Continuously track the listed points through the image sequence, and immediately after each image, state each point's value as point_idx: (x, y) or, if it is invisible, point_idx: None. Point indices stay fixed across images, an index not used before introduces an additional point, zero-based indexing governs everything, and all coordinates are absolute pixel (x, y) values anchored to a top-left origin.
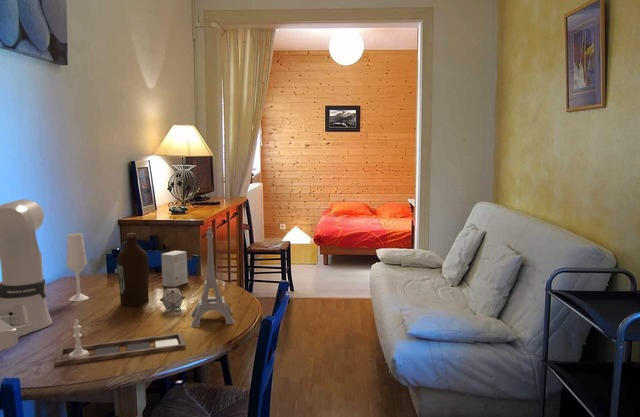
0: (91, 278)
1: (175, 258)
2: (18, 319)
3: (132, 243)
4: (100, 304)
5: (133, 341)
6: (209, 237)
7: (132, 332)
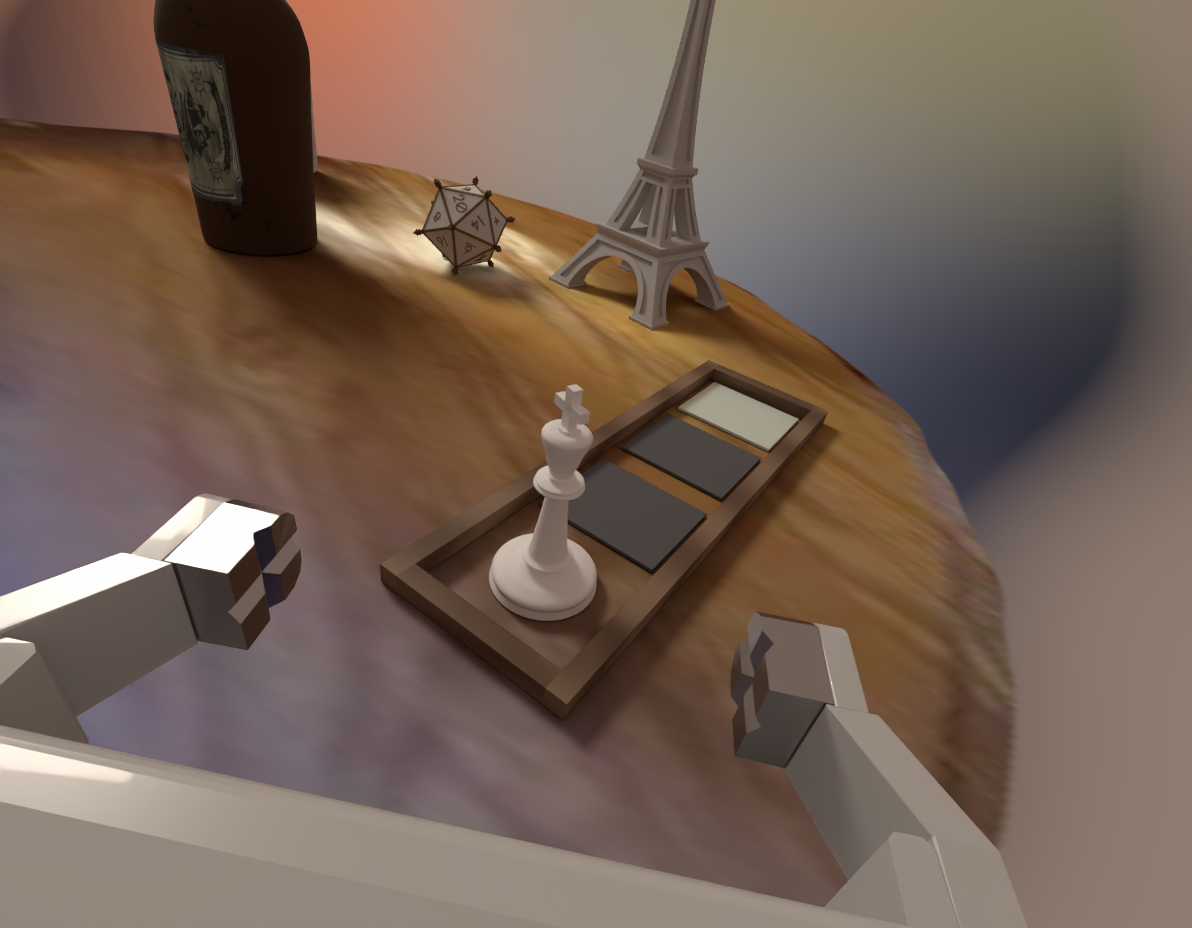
0: None
1: None
2: (289, 545)
3: None
4: (109, 249)
5: (631, 426)
6: None
7: (512, 377)
